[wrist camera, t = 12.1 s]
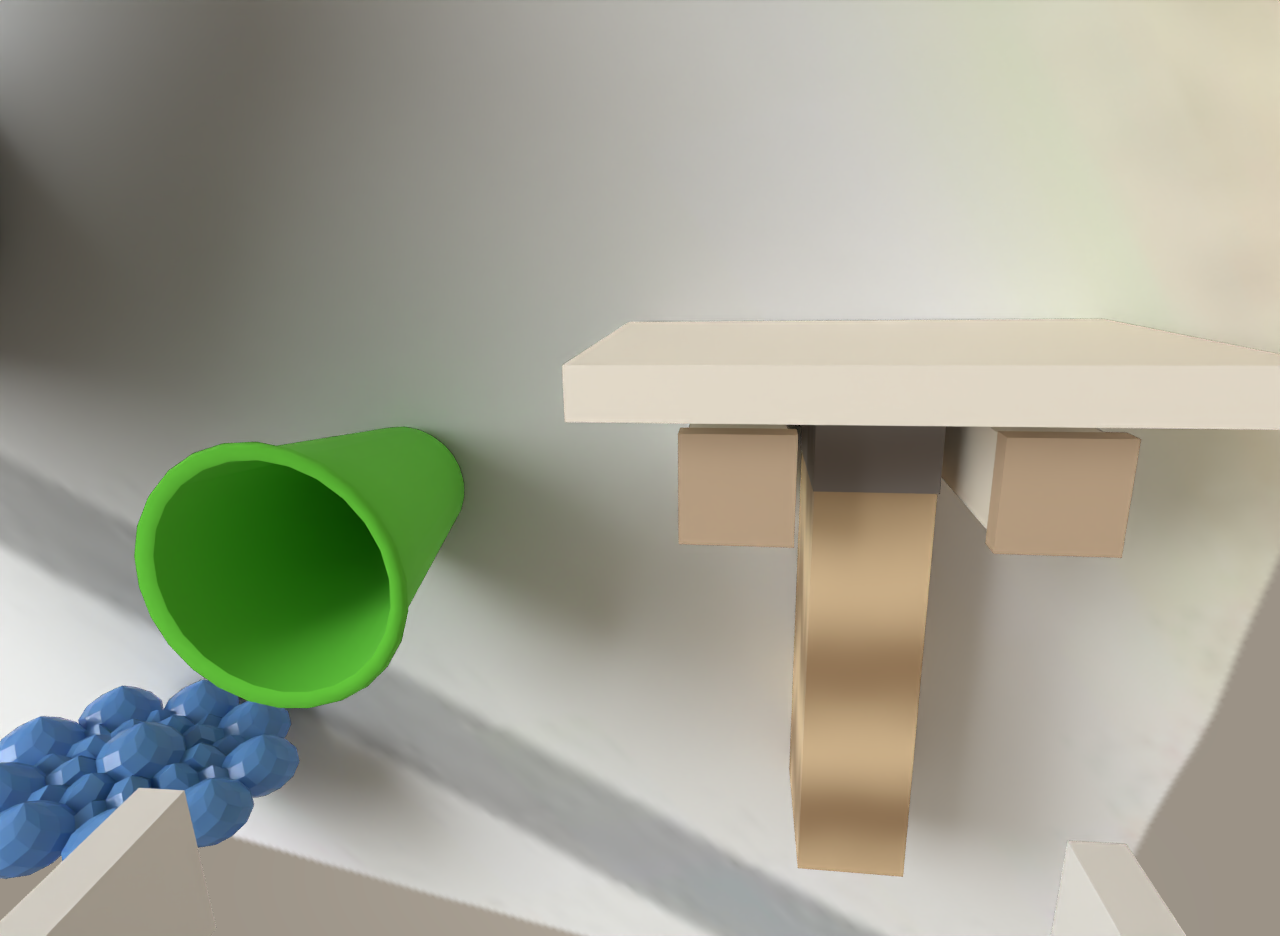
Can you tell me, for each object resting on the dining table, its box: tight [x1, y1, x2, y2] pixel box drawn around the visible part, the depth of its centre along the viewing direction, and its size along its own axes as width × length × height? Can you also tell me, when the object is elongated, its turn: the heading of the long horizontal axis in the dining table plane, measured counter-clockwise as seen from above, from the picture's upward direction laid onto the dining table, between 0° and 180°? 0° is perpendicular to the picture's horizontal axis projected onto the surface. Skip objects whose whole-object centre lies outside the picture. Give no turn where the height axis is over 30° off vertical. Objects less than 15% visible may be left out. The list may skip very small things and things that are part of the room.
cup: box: [134, 427, 464, 708], centre depth 29 cm, size 9×9×11 cm
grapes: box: [0, 680, 300, 879], centre depth 34 cm, size 12×7×12 cm, turn 78°
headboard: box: [562, 319, 1280, 558], centre depth 25 cm, size 18×6×12 cm, turn 91°
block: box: [789, 425, 946, 877], centre depth 30 cm, size 18×4×6 cm, turn 1°
